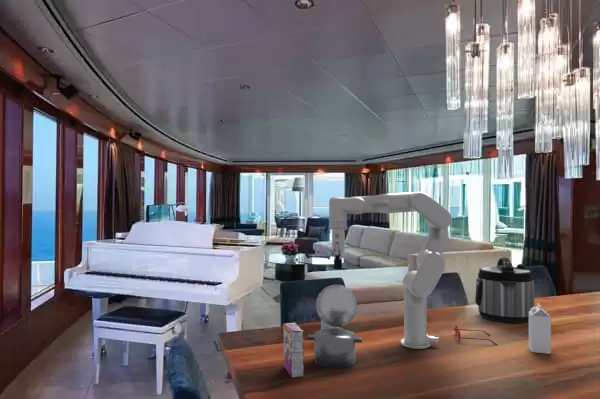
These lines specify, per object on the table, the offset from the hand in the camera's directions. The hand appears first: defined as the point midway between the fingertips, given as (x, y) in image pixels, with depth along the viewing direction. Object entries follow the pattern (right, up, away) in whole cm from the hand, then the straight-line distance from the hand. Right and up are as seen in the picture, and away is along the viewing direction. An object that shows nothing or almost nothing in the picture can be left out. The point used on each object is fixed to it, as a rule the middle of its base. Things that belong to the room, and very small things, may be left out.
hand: (338, 268), depth 190 cm
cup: (-3, -33, +6) cm, 34 cm away
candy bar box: (-19, -33, -29) cm, 48 cm away
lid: (-1, -14, -8) cm, 16 cm away
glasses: (+62, -34, +8) cm, 71 cm away
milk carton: (+83, -33, -7) cm, 90 cm away
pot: (-3, -33, -18) cm, 38 cm away
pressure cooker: (+92, -33, +45) cm, 108 cm away
